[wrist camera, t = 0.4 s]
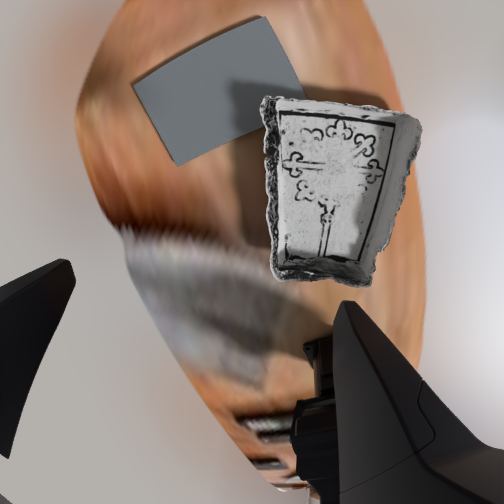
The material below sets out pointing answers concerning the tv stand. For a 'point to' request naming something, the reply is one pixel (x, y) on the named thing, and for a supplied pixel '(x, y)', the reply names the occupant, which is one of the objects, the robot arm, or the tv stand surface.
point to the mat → (218, 89)
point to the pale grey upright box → (311, 496)
